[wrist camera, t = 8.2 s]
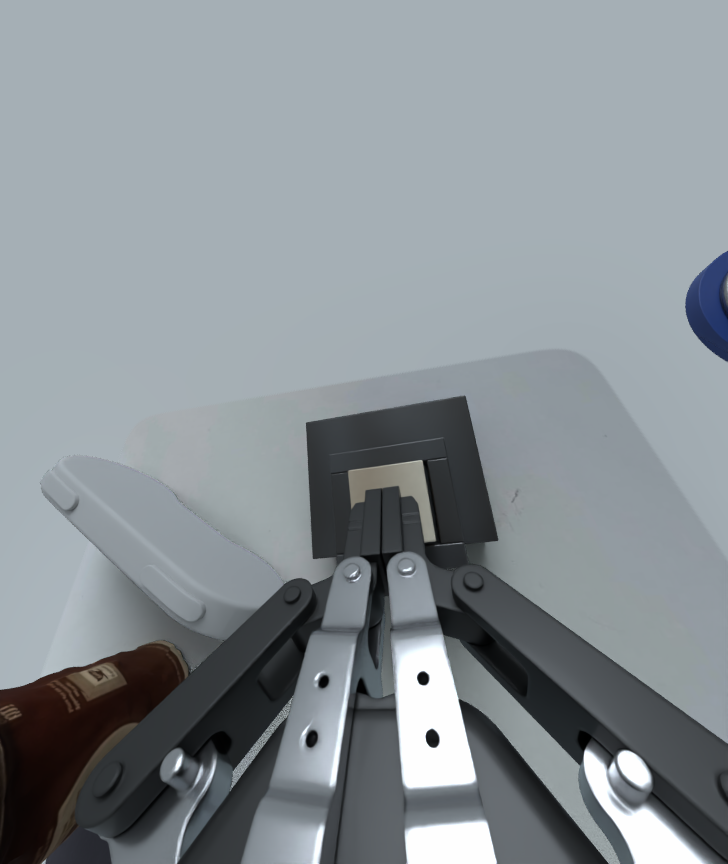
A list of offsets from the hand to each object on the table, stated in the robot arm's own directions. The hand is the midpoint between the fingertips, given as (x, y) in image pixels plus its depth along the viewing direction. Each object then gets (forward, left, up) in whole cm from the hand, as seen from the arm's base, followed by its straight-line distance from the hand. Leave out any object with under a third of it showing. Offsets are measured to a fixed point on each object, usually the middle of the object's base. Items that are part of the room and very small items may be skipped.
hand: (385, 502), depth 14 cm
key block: (-1, -2, -9) cm, 10 cm away
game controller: (+13, -9, -10) cm, 19 cm away
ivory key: (0, 0, -4) cm, 4 cm away
